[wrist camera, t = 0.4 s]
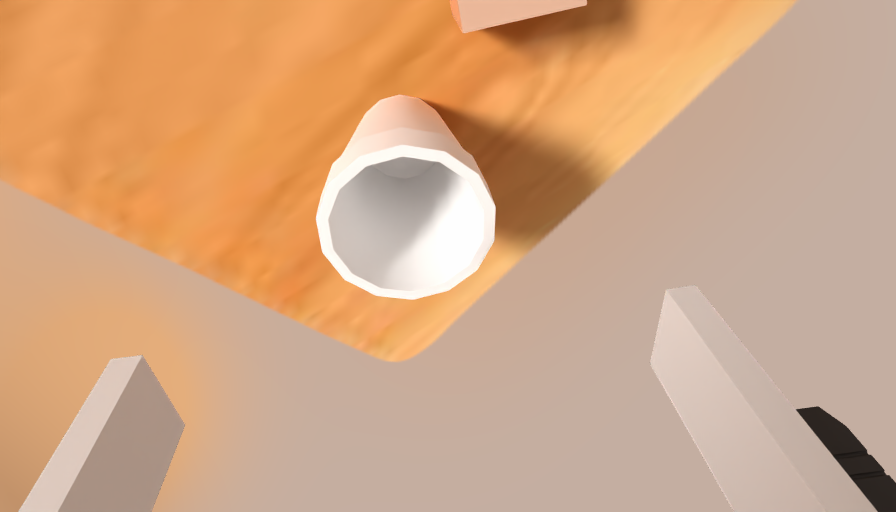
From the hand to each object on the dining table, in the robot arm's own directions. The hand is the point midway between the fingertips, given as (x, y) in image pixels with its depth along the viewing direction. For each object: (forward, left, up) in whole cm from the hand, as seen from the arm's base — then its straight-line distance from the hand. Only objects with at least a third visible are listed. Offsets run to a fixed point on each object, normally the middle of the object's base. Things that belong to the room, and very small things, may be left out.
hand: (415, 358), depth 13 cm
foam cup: (+4, -1, -27) cm, 27 cm away
